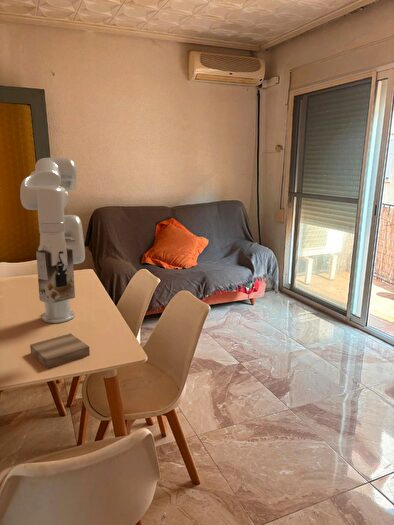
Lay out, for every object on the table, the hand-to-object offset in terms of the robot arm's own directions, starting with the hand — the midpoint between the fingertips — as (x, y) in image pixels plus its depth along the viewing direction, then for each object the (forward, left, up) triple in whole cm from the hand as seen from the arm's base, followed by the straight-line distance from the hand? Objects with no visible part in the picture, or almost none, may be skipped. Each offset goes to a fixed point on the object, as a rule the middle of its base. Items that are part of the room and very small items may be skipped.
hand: (56, 283), depth 125 cm
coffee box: (0, 0, -5) cm, 5 cm away
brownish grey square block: (0, -1, -24) cm, 24 cm away
